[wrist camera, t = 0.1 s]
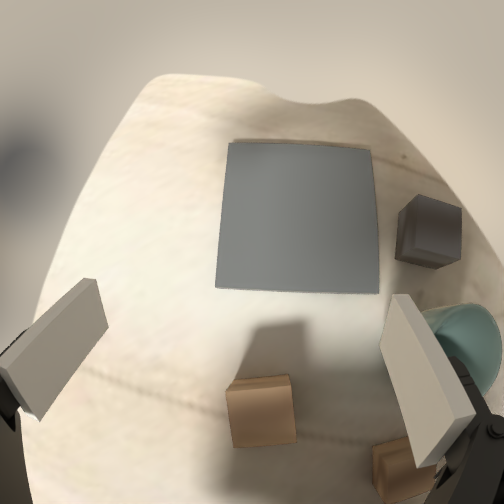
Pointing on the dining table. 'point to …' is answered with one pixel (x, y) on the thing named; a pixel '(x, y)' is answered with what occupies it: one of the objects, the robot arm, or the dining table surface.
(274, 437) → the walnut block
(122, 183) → the dining table surface
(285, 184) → the slate board
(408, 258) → the charcoal block front
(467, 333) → the cup
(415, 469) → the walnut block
